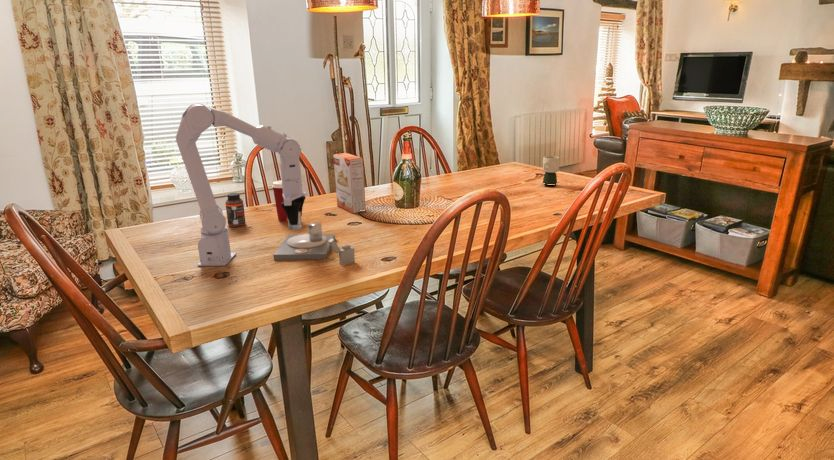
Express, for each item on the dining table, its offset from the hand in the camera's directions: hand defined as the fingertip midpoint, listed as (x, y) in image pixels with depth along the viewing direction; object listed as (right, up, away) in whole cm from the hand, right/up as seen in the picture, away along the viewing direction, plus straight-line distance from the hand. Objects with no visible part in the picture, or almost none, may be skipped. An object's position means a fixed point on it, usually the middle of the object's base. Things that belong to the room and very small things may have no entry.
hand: (295, 222), depth 159 cm
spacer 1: (0, -2, +1) cm, 2 cm away
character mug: (+97, +17, +75) cm, 123 cm away
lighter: (+16, -12, -12) cm, 23 cm away
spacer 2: (+6, -5, +2) cm, 8 cm away
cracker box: (+11, +6, +43) cm, 45 cm away
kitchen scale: (+3, -8, +1) cm, 9 cm away
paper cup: (-11, +1, +31) cm, 33 cm away
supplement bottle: (-27, -1, +26) cm, 37 cm away
